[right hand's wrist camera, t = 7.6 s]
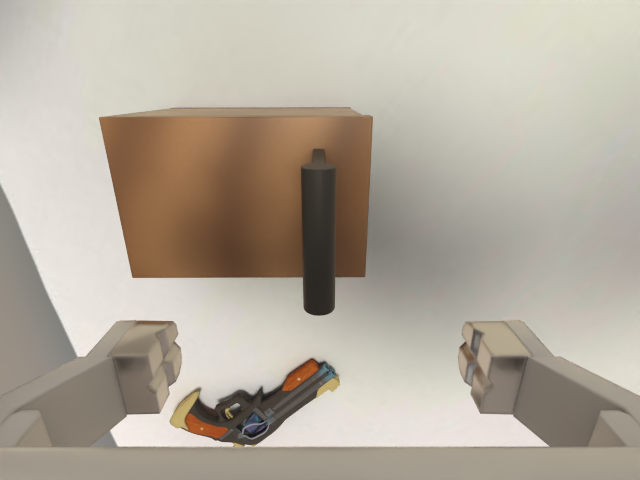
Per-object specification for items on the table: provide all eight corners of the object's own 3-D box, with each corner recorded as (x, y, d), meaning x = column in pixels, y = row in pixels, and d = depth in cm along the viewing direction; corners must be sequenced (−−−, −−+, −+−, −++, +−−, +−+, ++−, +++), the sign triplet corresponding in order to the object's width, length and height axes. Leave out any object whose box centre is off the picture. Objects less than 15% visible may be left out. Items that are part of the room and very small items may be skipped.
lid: (370, 115, 23) (396, 128, 15) (363, 269, 27) (381, 343, 19) (109, 115, 23) (-1, 129, 15) (140, 269, 27) (65, 345, 19)
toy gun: (160, 424, 43) (221, 479, 45) (282, 326, 40) (343, 389, 41) (170, 408, 46) (227, 460, 47) (285, 315, 42) (342, 375, 44)
